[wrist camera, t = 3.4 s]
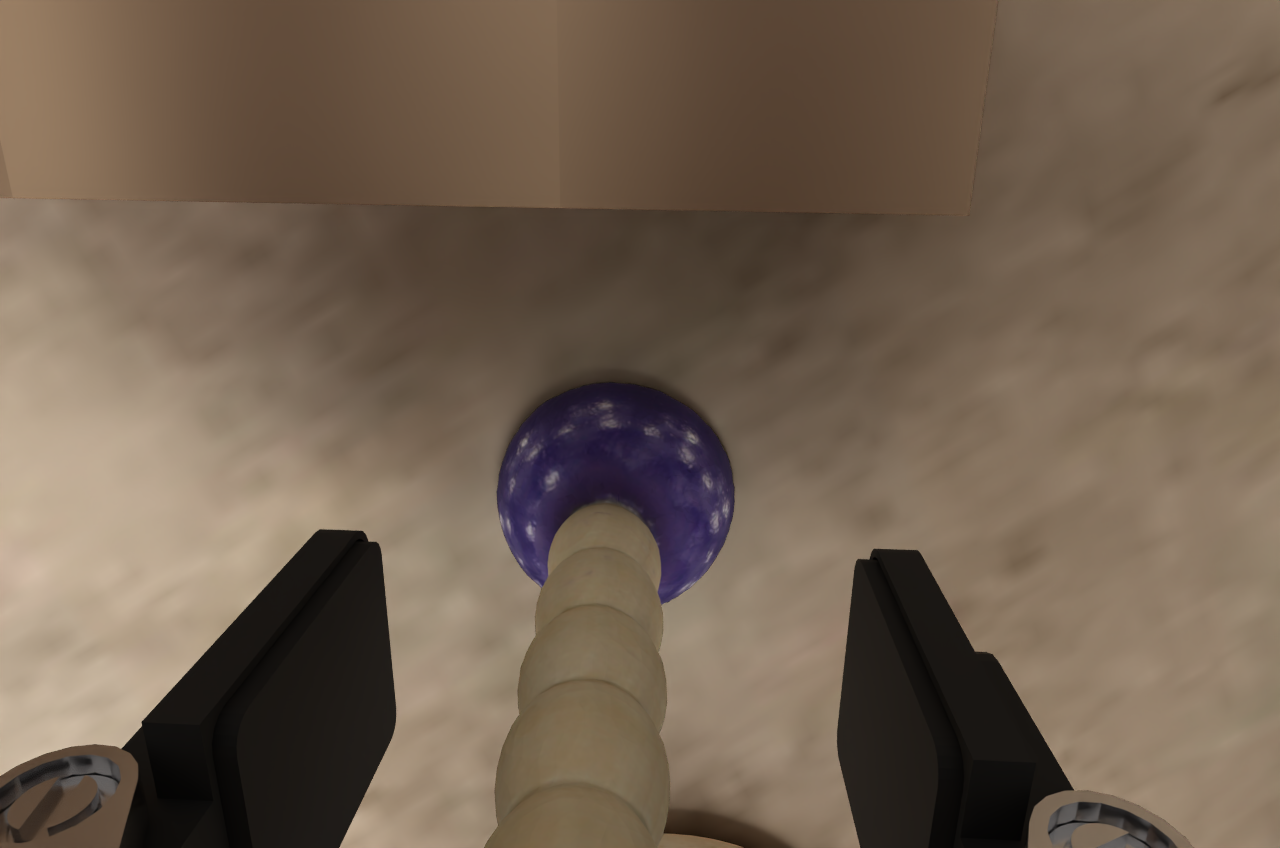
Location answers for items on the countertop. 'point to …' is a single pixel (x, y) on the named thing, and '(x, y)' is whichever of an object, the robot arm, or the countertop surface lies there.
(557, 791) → the toy lamp
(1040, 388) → the countertop surface
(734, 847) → the stacking toy
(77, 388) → the countertop surface
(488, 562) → the countertop surface
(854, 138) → the brown flat frame block
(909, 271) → the countertop surface
